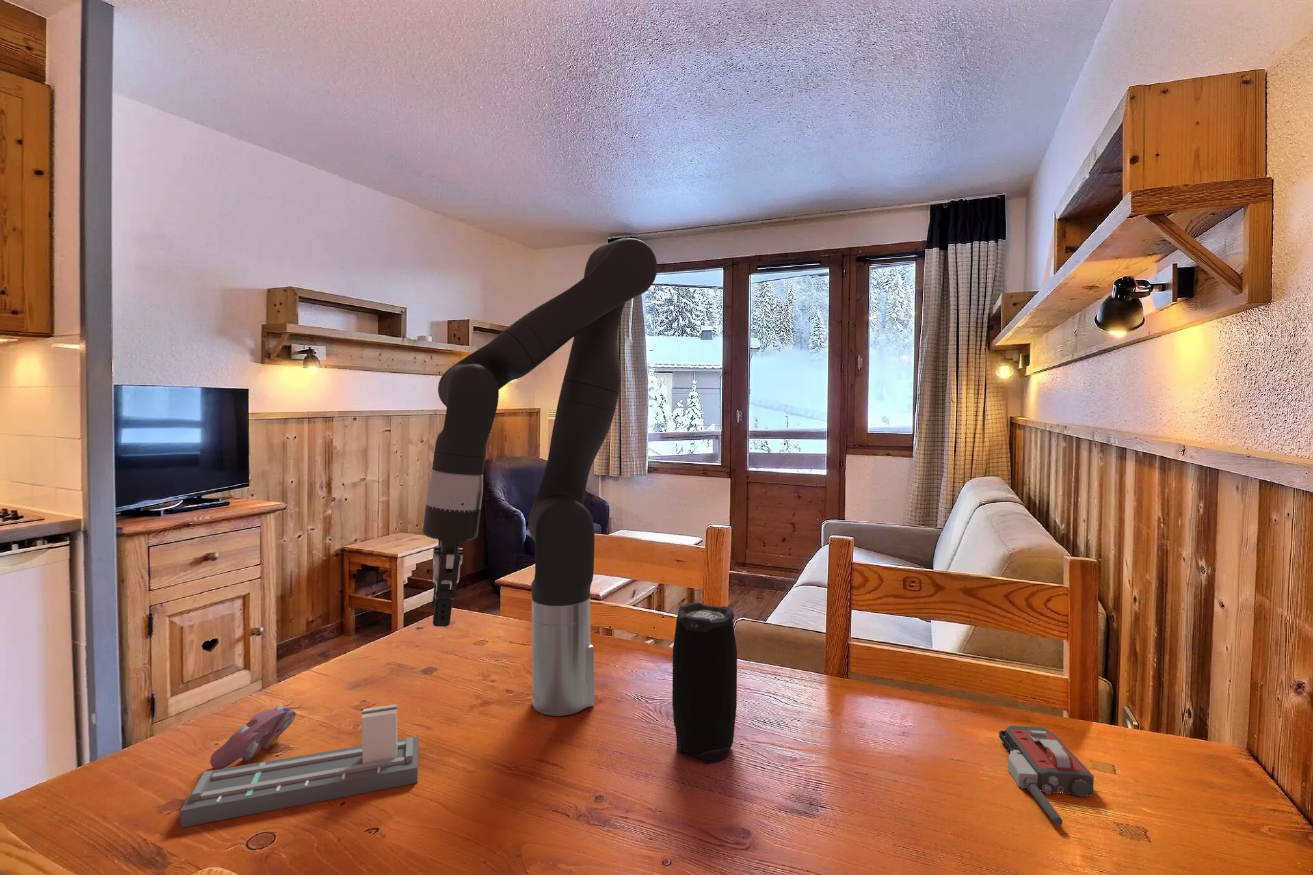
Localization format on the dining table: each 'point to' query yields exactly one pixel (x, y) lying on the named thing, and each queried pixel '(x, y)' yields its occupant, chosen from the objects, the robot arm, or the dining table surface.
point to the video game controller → (253, 736)
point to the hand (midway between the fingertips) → (440, 615)
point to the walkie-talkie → (1044, 765)
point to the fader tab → (379, 733)
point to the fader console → (296, 782)
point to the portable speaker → (704, 681)
